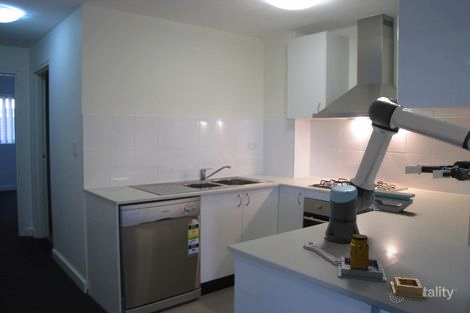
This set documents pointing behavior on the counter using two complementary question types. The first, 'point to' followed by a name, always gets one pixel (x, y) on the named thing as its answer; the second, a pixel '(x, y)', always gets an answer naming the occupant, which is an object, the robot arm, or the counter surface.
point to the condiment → (359, 253)
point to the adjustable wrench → (321, 252)
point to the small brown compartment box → (408, 287)
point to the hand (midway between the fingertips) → (418, 172)
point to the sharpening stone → (392, 200)
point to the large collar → (362, 274)
